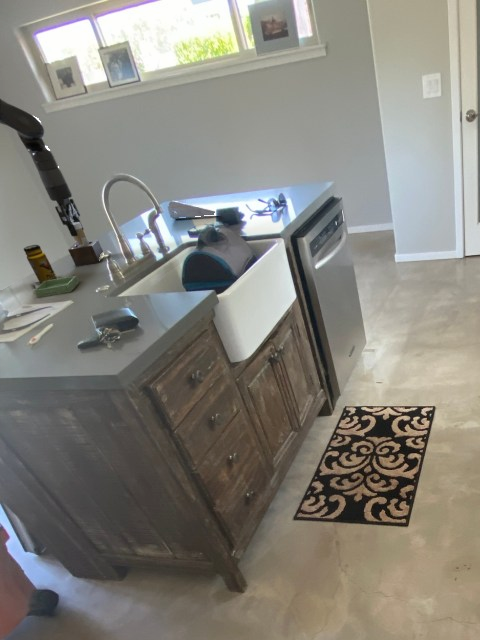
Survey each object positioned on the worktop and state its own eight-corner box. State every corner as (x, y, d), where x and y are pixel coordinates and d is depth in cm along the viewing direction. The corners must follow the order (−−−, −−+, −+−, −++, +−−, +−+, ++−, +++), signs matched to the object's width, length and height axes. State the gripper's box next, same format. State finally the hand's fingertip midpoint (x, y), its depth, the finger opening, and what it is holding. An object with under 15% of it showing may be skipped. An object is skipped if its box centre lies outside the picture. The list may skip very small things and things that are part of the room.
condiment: (60, 281, 187) (42, 245, 179) (36, 288, 183) (16, 252, 175) (57, 277, 191) (39, 242, 183) (33, 284, 188) (13, 248, 180)
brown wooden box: (75, 266, 201) (67, 249, 197) (82, 259, 207) (74, 243, 203) (99, 262, 201) (91, 245, 197) (105, 255, 208) (98, 239, 204)
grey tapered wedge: (226, 201, 241) (175, 198, 245) (219, 205, 235) (166, 202, 238) (230, 220, 246) (179, 216, 250) (222, 224, 240) (171, 221, 243)
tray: (37, 297, 175) (33, 290, 173) (47, 287, 182) (43, 281, 181) (70, 291, 175) (67, 284, 174) (79, 282, 183) (76, 275, 181)
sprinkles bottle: (82, 262, 204) (64, 225, 195) (91, 259, 206) (74, 221, 198) (90, 263, 202) (72, 225, 193) (99, 259, 205) (82, 221, 196)
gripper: (51, 182, 192) (73, 230, 203) (37, 188, 181) (62, 239, 192) (71, 178, 192) (92, 227, 203) (59, 185, 181) (82, 236, 192)
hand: (78, 233), depth 198 cm, fingers open, 7 cm apart
